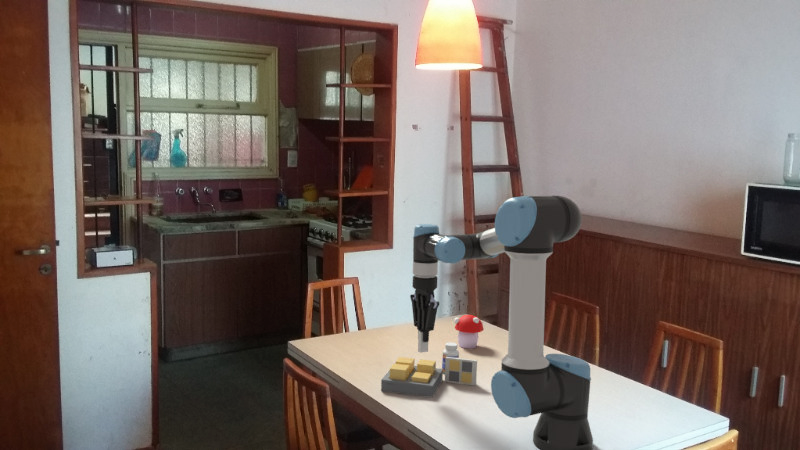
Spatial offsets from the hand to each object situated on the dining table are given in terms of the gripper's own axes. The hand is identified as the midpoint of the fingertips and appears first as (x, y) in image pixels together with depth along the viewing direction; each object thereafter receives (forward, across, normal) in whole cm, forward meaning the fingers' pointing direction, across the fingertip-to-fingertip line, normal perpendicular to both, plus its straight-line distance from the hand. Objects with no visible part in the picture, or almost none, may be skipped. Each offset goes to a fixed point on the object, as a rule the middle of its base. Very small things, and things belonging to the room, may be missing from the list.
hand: (423, 351), depth 220 cm
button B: (+10, +5, +5) cm, 12 cm away
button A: (+12, +1, 0) cm, 12 cm away
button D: (+10, +10, 0) cm, 14 cm away
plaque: (+13, +1, -15) cm, 20 cm away
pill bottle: (+13, +10, -18) cm, 24 cm away
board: (+13, +6, 0) cm, 14 cm away
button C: (+10, +5, -5) cm, 12 cm away
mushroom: (+12, +32, -41) cm, 54 cm away
